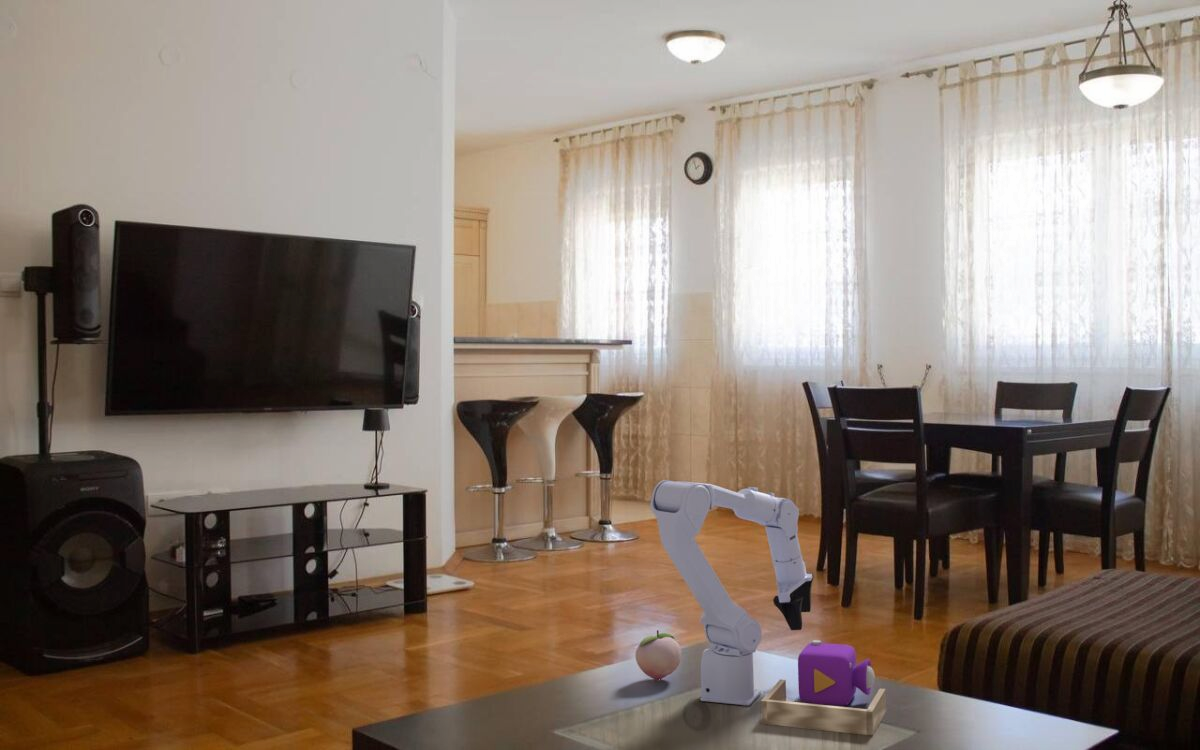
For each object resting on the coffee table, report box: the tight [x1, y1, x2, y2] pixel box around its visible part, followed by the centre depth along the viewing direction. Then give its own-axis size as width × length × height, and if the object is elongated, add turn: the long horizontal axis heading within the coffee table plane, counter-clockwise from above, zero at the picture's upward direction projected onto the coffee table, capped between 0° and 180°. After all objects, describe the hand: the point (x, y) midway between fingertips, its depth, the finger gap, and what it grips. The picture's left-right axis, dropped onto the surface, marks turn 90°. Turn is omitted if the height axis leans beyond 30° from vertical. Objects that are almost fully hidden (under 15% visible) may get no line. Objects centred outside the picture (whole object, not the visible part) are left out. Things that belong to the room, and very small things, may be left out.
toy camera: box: [797, 639, 876, 707], centre depth 205 cm, size 11×14×10 cm
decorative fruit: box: [634, 629, 682, 681], centre depth 220 cm, size 9×8×10 cm
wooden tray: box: [760, 679, 887, 736], centre depth 195 cm, size 19×13×4 cm
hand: (800, 620), depth 219 cm, fingers open, 7 cm apart
